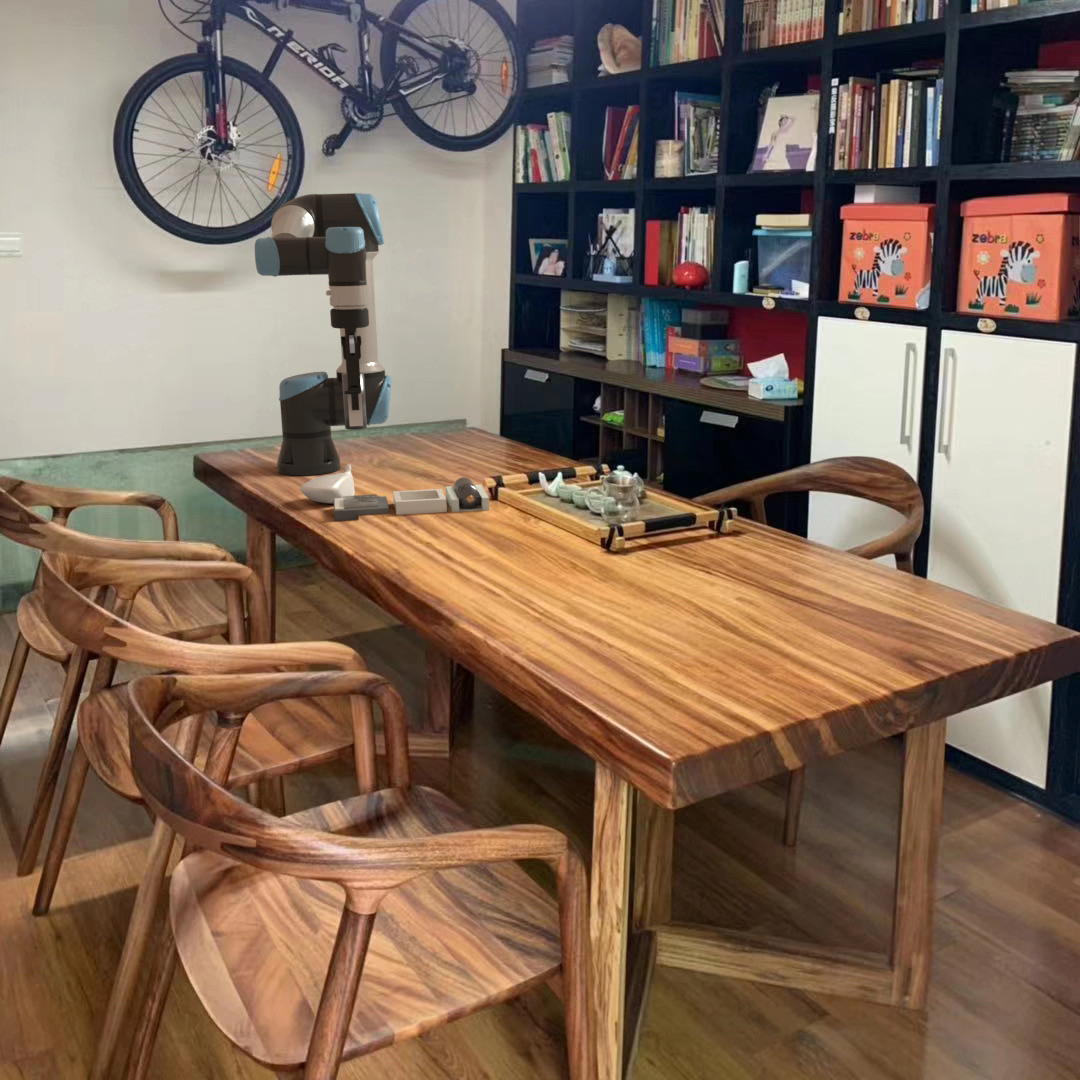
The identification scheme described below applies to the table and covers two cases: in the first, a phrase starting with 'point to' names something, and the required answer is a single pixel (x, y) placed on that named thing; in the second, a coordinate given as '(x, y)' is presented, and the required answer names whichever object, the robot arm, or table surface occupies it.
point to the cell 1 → (345, 399)
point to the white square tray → (419, 501)
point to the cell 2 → (467, 493)
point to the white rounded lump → (330, 487)
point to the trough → (457, 507)
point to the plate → (360, 501)
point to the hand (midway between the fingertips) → (356, 423)
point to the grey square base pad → (358, 509)
